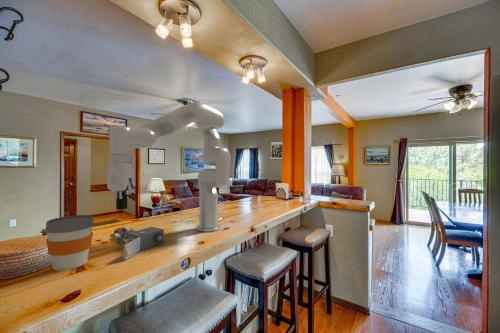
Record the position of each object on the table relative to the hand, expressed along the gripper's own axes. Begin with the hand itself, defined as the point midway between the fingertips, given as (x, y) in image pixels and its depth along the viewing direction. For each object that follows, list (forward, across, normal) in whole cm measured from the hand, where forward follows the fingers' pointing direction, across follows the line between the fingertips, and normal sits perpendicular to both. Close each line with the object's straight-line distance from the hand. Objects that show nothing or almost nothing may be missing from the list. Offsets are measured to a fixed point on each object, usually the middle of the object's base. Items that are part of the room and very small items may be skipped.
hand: (121, 209), depth 81 cm
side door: (+17, +5, +1) cm, 17 cm away
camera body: (+17, -1, +11) cm, 20 cm away
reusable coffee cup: (+17, -6, -13) cm, 23 cm away
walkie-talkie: (+18, -16, +12) cm, 27 cm away
